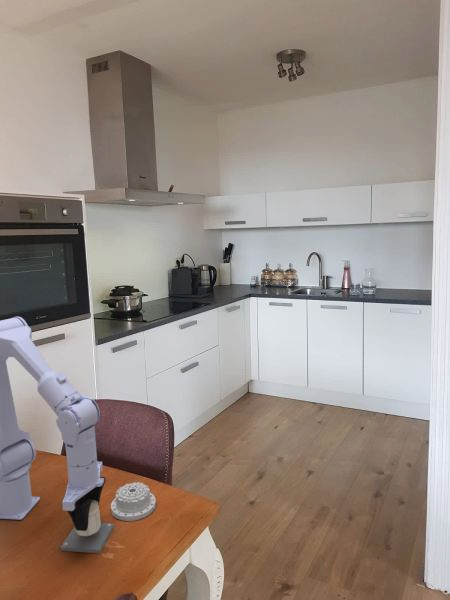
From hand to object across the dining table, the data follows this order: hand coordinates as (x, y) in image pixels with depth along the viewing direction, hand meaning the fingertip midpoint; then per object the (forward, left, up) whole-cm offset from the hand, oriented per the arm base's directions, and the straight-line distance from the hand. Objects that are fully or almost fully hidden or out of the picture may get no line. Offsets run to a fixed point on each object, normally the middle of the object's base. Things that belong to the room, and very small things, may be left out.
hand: (87, 521), depth 94 cm
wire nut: (0, 0, -2) cm, 2 cm away
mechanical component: (+6, +11, -4) cm, 13 cm away
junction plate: (0, 0, -4) cm, 4 cm away
